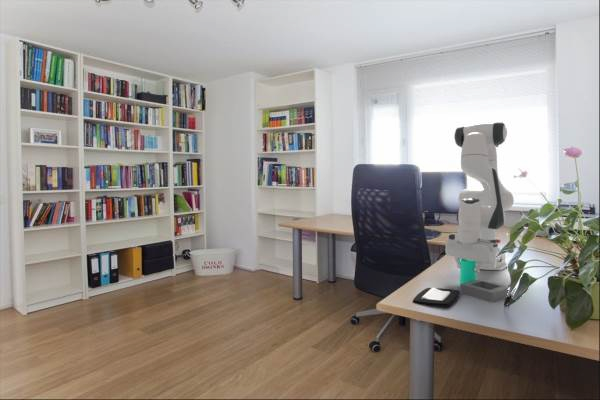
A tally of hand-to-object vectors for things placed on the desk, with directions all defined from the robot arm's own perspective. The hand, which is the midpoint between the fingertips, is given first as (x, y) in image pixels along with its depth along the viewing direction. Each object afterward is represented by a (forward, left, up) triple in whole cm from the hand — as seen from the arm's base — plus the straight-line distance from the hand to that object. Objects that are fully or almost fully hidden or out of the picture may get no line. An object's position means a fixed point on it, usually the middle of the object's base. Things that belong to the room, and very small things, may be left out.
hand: (468, 269), depth 159 cm
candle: (0, 0, -6) cm, 6 cm away
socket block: (+6, +12, -6) cm, 14 cm away
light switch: (+26, +4, -7) cm, 27 cm away
